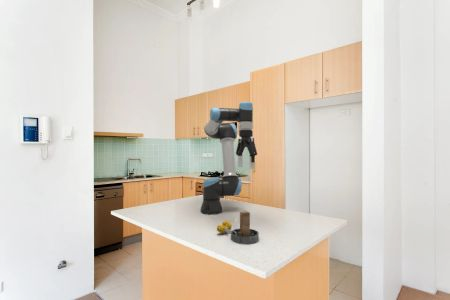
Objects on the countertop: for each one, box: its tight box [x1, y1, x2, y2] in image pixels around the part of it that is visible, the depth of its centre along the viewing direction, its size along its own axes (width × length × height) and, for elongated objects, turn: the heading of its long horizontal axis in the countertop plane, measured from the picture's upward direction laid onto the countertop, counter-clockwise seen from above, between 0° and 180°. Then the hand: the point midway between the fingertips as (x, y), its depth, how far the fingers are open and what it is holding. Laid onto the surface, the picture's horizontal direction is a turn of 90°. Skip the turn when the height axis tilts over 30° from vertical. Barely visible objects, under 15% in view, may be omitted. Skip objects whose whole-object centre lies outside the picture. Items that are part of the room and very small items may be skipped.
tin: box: [230, 228, 260, 245], centre depth 117 cm, size 13×13×3 cm
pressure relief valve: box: [216, 220, 237, 236], centre depth 124 cm, size 6×12×10 cm
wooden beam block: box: [239, 210, 251, 237], centre depth 117 cm, size 4×4×12 cm
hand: (245, 167), depth 137 cm, fingers open, 13 cm apart
